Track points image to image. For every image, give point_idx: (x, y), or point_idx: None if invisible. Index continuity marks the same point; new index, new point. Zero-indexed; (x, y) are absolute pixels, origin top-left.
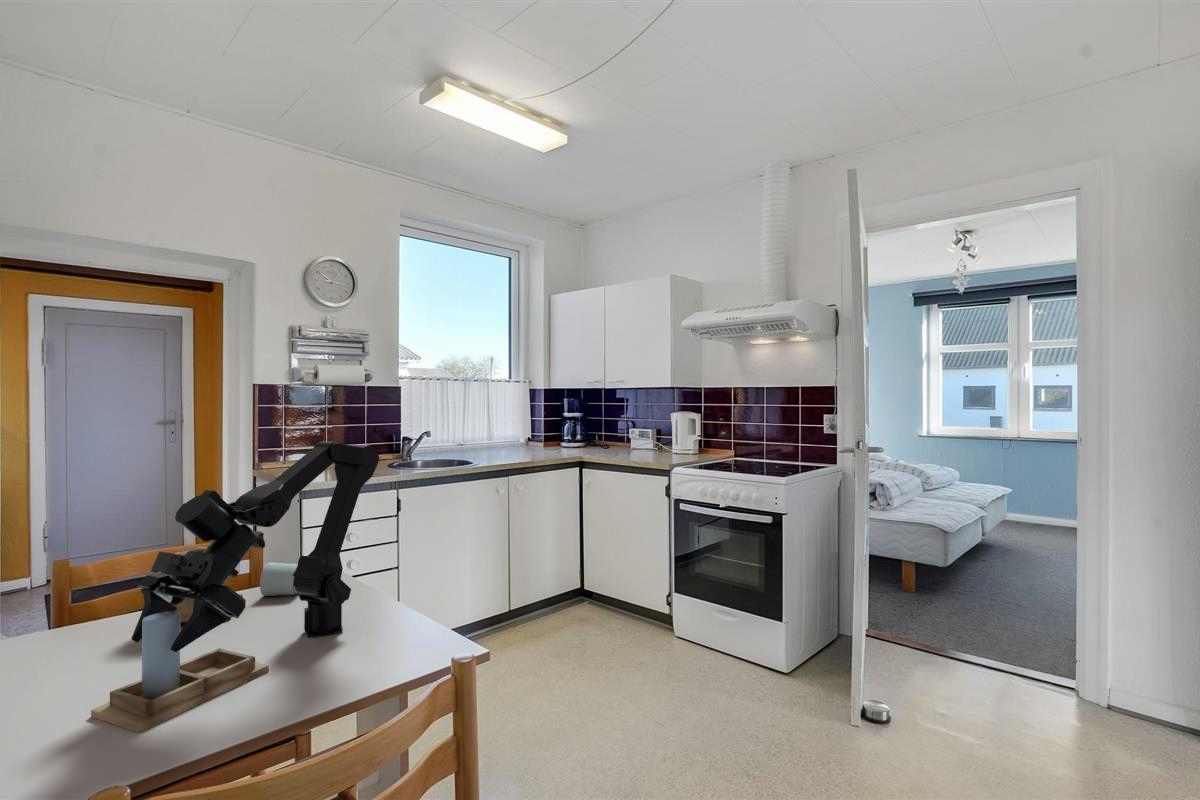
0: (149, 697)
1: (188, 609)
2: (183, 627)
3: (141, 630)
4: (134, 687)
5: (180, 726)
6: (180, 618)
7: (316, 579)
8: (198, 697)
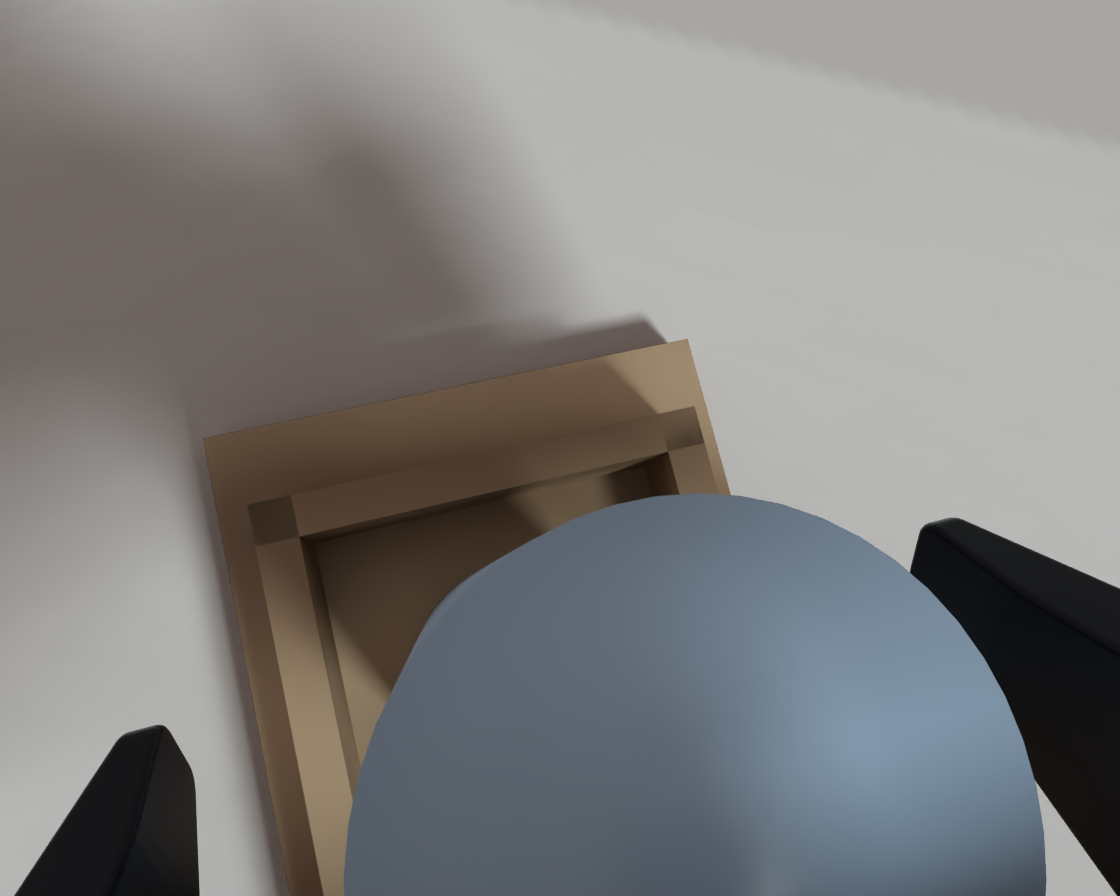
0: (461, 581)
1: None
2: None
3: (1009, 630)
4: None
5: (62, 640)
6: None
7: None
8: (284, 855)
